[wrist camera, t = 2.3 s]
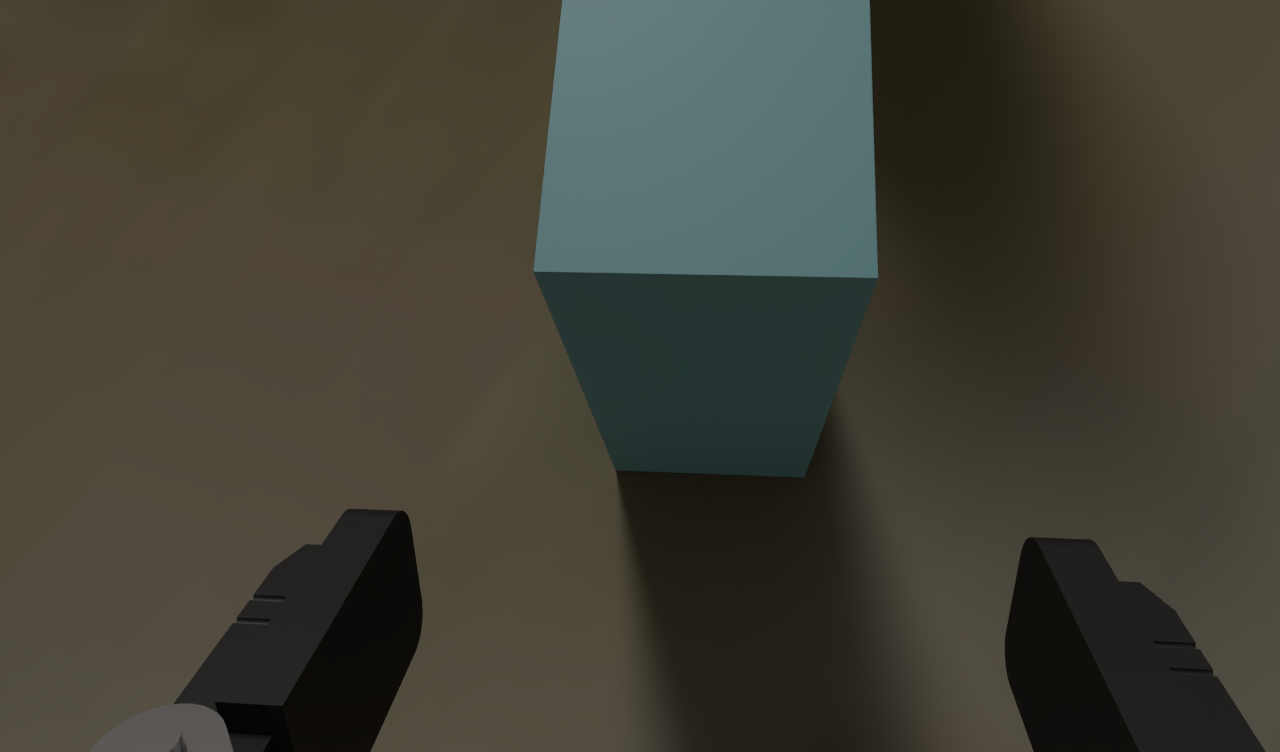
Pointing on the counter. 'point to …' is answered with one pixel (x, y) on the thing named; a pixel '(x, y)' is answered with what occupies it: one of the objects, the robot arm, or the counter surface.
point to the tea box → (710, 223)
